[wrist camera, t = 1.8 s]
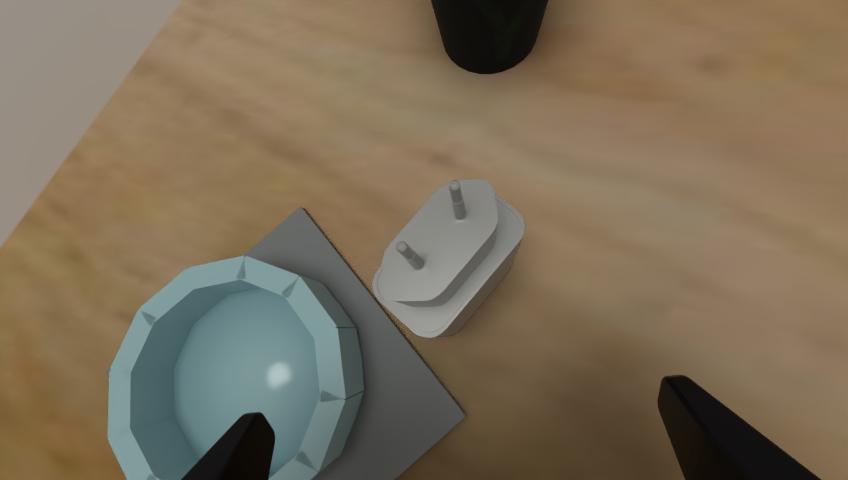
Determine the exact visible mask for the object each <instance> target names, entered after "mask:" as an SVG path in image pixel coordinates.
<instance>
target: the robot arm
mask: <svg viewBox="0 0 848 480" xmlns="http://www.w3.org/2000/svg"><path fill="white" fill-rule="evenodd" d="M658 408H659V412H660V415H661V417H662V420H663V422H664V425H665V428H666V430H667V433H668V436H669V438H670V441H671V444H672V446H673V449H674V451H675V454H676V457H677V459H678V462H679V465H680V467H681V470H682V473H683V475H684V478H685V480H821V479H820V478H818V477H817V476H816V475H814V474H813V473H812V472H811V471H809V470H808V469H807V468H805V467H804V466H803V465H801V464H800V463H799V462H798V461H796V460H795V459H794V458H792V457H791V456H790V455H788V454H787V453H786V452H785V451H783V450H782V449H781V448H779V447H778V446H777V445H775V444H774V443H773V442H772V441H770V440H769V439H768V438H766V437H765V436H764V435H762V434H761V433H760V432H759V431H757V430H756V429H755V428H753V427H752V426H751V425H749V424H748V423H747V422H746V421H744V420H743V419H742V418H740V417H739V416H738V415H736V414H735V413H734V412H733V411H731V410H730V409H729V408H727V407H726V406H725V405H723V404H722V403H721V402H720V401H718V400H717V399H716V398H714V397H713V396H712V395H710V394H709V393H708V392H707V391H705V390H704V389H703V388H701V387H700V386H699V385H697V384H696V383H695V382H694V381H692V380H691V379H690V378H688V377H686V376H684V375H673V376H665V377H664V378H663V379H662V381H661V386H660V391H659V396H658ZM274 445H275V432H274V430H273V428H272V427H271V425H270V424H269V422H268V420H267V419H266V417H265V416H264V414H263V413H261V412H252V413H245V414H243V415H242V416H241V417H240V418H239V419H238V420H237V421H236V422H235V423H234V424H233V425H232V426H231V427H230V428H229V429H228V430H227V431H226V432H225V433H224V434H223V435H222V437H221V438H220V439H219V440H218V441H217V442H216V443H215V444H214V445H213V446H212V447H211V448H210V449H209V450H208V451H207V452H206V453H205V454H204V456H203V457H202V458H201V459H200V460H199V461H198V462H197V463H196V464H195V465H194V466H193V467H192V468H191V469H190V470H189V471H188V472H187V473H186V475H185V476H184V477H183V478H182V479H181V480H268V478H269V473H270V467H271V462H272V456H273V451H274Z"/></svg>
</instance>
